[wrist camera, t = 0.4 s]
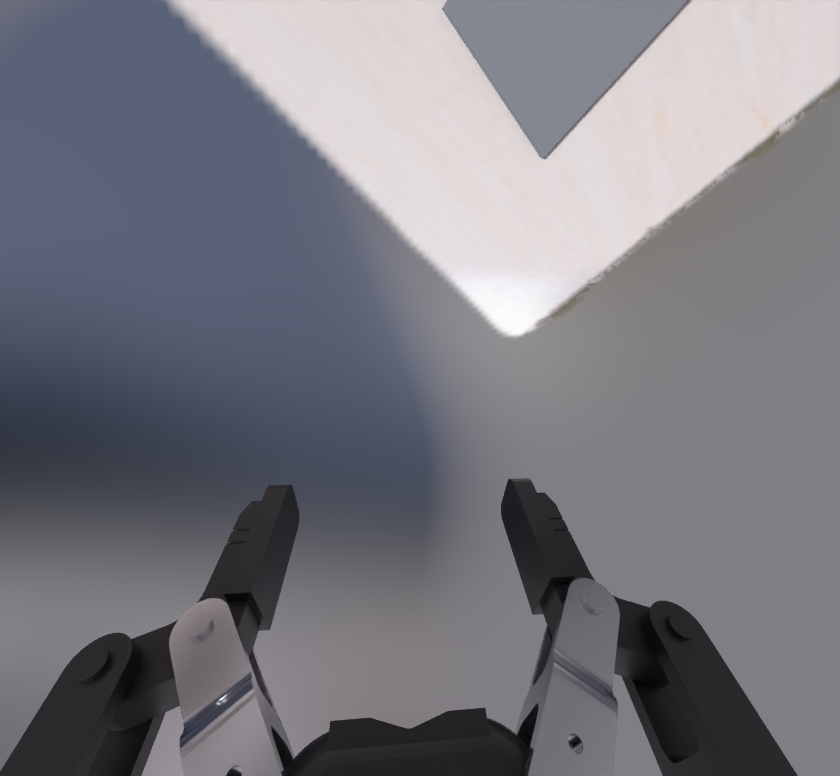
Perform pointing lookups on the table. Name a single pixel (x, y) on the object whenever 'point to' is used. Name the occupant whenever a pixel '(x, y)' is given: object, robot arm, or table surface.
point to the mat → (555, 53)
